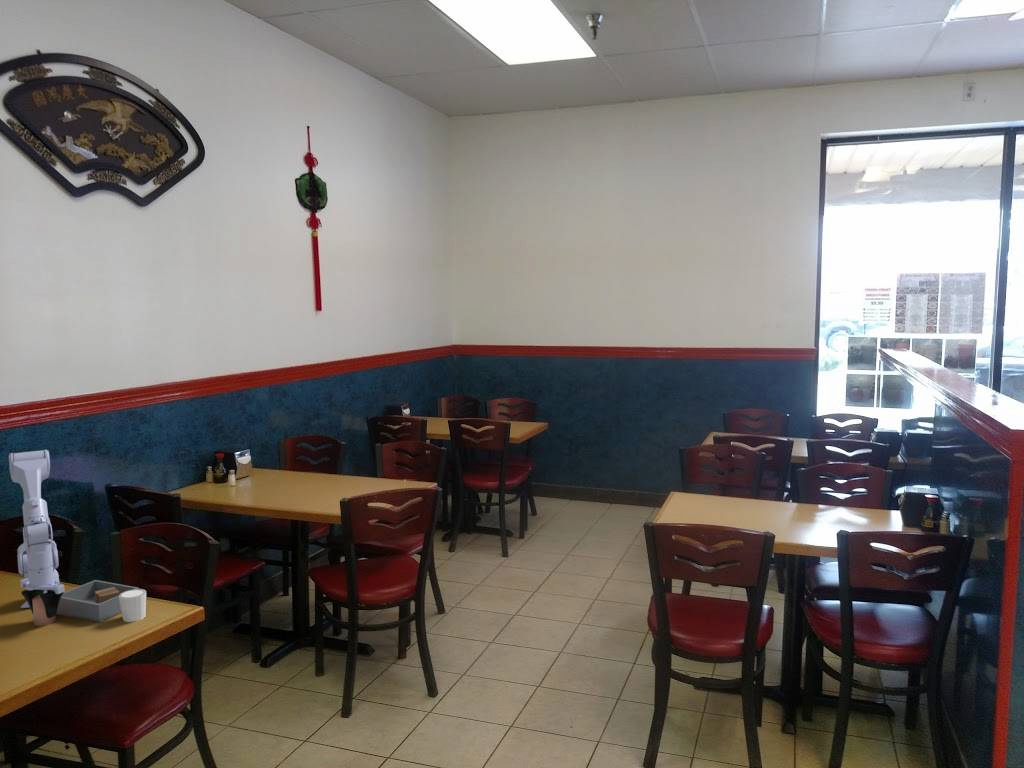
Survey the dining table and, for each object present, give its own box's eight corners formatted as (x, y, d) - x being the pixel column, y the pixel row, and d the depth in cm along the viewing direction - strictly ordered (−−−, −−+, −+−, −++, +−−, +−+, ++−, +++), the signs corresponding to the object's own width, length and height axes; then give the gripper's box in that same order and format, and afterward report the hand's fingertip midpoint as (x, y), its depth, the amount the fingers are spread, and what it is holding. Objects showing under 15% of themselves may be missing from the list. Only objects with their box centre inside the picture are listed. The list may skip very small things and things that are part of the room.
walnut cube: (95, 608, 215) (94, 591, 215) (115, 603, 219) (114, 586, 218) (101, 614, 212) (99, 596, 211) (120, 608, 215) (119, 591, 215)
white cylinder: (114, 620, 209) (112, 595, 208) (137, 611, 215) (135, 587, 214) (131, 624, 206) (129, 599, 205) (153, 615, 212) (151, 591, 211)
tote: (55, 613, 214) (53, 596, 213) (96, 596, 226) (95, 579, 225) (99, 622, 207) (98, 604, 207) (139, 604, 220) (138, 587, 219)
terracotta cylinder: (39, 619, 210) (37, 594, 210) (58, 617, 211) (56, 593, 210) (31, 626, 206) (28, 601, 205) (51, 625, 206) (49, 600, 206)
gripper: (7, 568, 206) (12, 617, 207) (45, 575, 200) (49, 625, 202) (32, 560, 212) (36, 607, 214) (69, 566, 207) (73, 614, 208)
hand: (44, 615), depth 208 cm, fingers closed on terracotta cylinder, 5 cm apart
